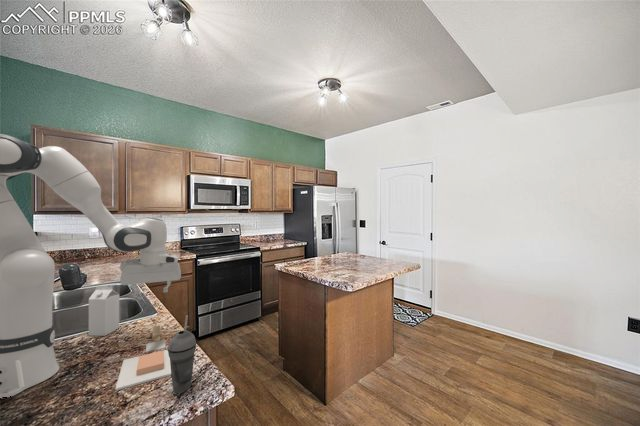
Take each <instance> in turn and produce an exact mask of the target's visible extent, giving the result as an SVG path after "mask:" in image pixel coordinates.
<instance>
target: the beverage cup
mask: <svg viewBox="0 0 640 426" xmlns="http://www.w3.org/2000/svg"><path fill="white" fill-rule="evenodd" d="M188 317H189V315H185V319H184V320H185V321H184V328H183V330H180V331H178V332H176V333H175V334H174V335H173V336H172V337H171V338H170V340H169V342H168V346H167V350H168V354H169V358H170V365H171V375H170V377H171V384H172V388H173V389H172V390H173V392H175V393H183V392H185V391H187V390H189V389H190V388H191V386H192V380H193V370H194V362H195V351H196V348H197V347H196V346H197V341H196V337H195V335H194V333H192V331H189V330H187V326H188Z"/></svg>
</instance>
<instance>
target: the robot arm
mask: <svg viewBox="0 0 640 426" xmlns="http://www.w3.org/2000/svg"><path fill="white" fill-rule="evenodd" d="M24 173H29V174H31V175H35V176H36V177H38V178H40V179H41V180H42V181H43V182H44V183H45V184H46V185H47V186H48V187H49V189H51V190H52V191H53V192H54V193H55V194H56V195H57V196H59V197H60V198H61V199H63V200H64V201H65V202H66V203H68V204H69V205H71V206H73V207H74V208H76V210H79V212H81V213H83V214H84V215H85V216H86V218H87V219H88V220H89V221H90V222H91V223H92V224H93V225H94V226H95V227H96V228H97V229H98V231H100V233H101V235H102V237H103V242H104V243H105V245H106V247H108V248H109V249H110V250H112V251H116V252H123V253H131V252H135V251H139V258H136V259H125V260H123V261H122V262H121V263H120V264H119V265H120V266H119V269H120V271H121V275H120V278H119V279H120V281H119V283H120V284H121V285H122V286H123V285H124V286H125V285H131V289H132V290H133V291H134V296H140V295H141V294H140V293H141V292H140V289H137V285H138V284H148V283H150V284H151V283H160V282H161V283H162V282H166V286H165V287H163V291H162V293H168V291H169V290H168V288H169V287H170V286H171V284H172V282H174V281H180V280H181V278H182V270H181V266H180V263H179V262H178V261H179V257H178V255H174V254H169V253H167V247H166V243H167V237H168V235H167V233H168V232H167V230H168V229H167V224H166V222H165V221H164V220H163V219H159V218H157V217H156V218H154V217H144V218H143V219H141V220H140V221H137V222H135V223H132V224H128V225H124V224H122V222H121V223H120V221H118V220H117V219H116V218H115V216H114V215H113V214H112V213H111V212H110V211H109V209H108V208H107V207H106V206H105V205H104V204H103V200H102V188H101V186H100V184H99V182H98V181H97V179H96V178H95V176H93V174H92V173H91V172H90V171H89V170H88V168H86V167H85V165H83V163H82V162H80V160H78V159H77V158H76V157H75V156H73V155H72V154H71V153H70V152H68V151H67V150H66V149H65V148H63V147H62V146H58V145H57V146H55V145H48V146H43V147H40V148H39V147H38V146H36V145H33V144H31V143H28V142H26V141H24V140H22V139H20V138H17V137H15V136H12V135H9V134H5V133H0V398H1V399H3V398H2V397H7V398H10V396H11V397H13V396H16V395H17V394H19V393H21V392H23V391H25V390H26V389H28V388H29V389H30V388H31V387H34V386H36V385H38V384H40V383H42V382H44V381H47V380H48V379H49V378H51V377H53V376H54V375H56V373H58V372H59V370H60V366H59V363H58V361H57V358H56V353H55V350H54V349H55V348H54V343H55V341H56V340H55V337H56V331H55V325H54V324H53V300H54V299H53V298H54V287H55V274H56V273H55V272H56V271H55V269H56V263H55V261H54V260H55V259H53V258H52V257H51V256H50V254H49V253H47V251H46V249H45V248H44V246H43V244H42V242H41V241H40V239H39V238H38V236H37V234H36V233H35V230H34V229H33V228H32V225H31V224H30V223H29V221H28V219H27V217H26V216H25V215H24V212H23V211H22V209H21V208H20V206H19V205H18V203H17V202H16V200H15V198H14V197H13V196H12V194H11V192H10V191H9V188H8V187H7V183H6V182H7V181H8V180H10V179H13V178H15V177H18V176H20V175H22V174H24Z"/></svg>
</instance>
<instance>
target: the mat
mask: <svg viewBox="0 0 640 426" xmlns="http://www.w3.org/2000/svg"><path fill="white" fill-rule="evenodd" d="M163 350H164V368H163V369H160V370H156V371H152V372H149V373H145V374H141V375H137V365H138V359H139V356H140V355H139V356H138V355H137V356H134V357H130V358H126V359H123V361H122V365H121V367H120V372H119V374H118V378H117V381H116V385H115V390H114V391H120V390H123V389H127V388H130V387H135V386H137V385H141V384H145V383H148V382H152V381H156V380H158V379H163V378H167V377H169V376H170V377H171V365H170V358H169V354H168V349H163Z"/></svg>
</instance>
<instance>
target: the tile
mask: <svg viewBox="0 0 640 426" xmlns="http://www.w3.org/2000/svg"><path fill="white" fill-rule="evenodd" d="M164 350H165V349H162V350H158V351H154V352H149V353H145V354H142V355H139V359H138V365H137V375H141V374H145V373H149V372H152V371H156V370H160V369H163V368H164Z"/></svg>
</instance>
